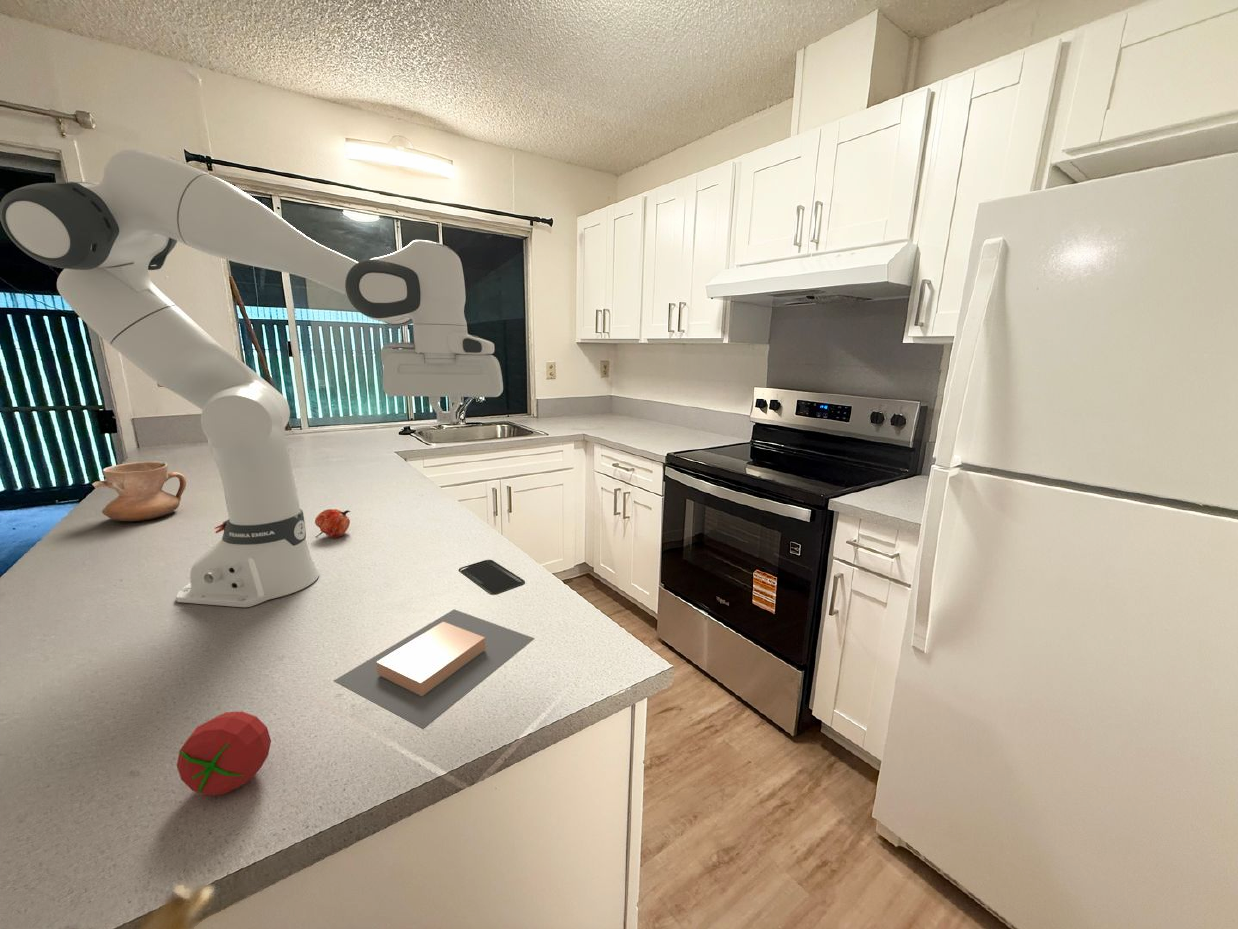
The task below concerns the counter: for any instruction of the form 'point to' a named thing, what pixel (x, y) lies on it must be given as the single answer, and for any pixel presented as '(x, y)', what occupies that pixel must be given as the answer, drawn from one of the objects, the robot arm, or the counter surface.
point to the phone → (491, 576)
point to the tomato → (223, 753)
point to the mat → (453, 688)
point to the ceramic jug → (140, 491)
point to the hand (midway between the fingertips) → (446, 421)
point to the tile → (431, 658)
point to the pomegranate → (332, 522)
